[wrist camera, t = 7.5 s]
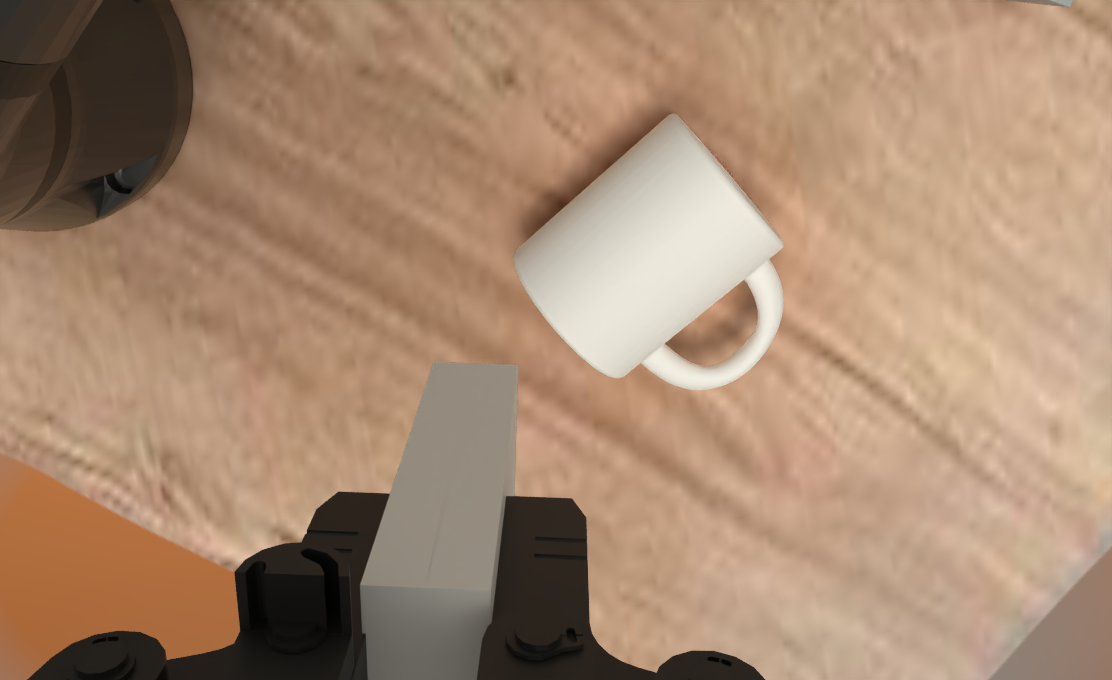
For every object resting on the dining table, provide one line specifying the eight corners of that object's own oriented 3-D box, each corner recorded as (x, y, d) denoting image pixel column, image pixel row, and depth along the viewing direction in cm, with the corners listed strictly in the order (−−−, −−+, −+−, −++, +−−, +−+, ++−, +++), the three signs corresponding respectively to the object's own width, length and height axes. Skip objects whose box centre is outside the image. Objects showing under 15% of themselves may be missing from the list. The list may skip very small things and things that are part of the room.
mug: (515, 233, 50) (505, 282, 42) (665, 99, 47) (684, 126, 40) (666, 393, 53) (682, 464, 46) (815, 275, 50) (858, 331, 43)
